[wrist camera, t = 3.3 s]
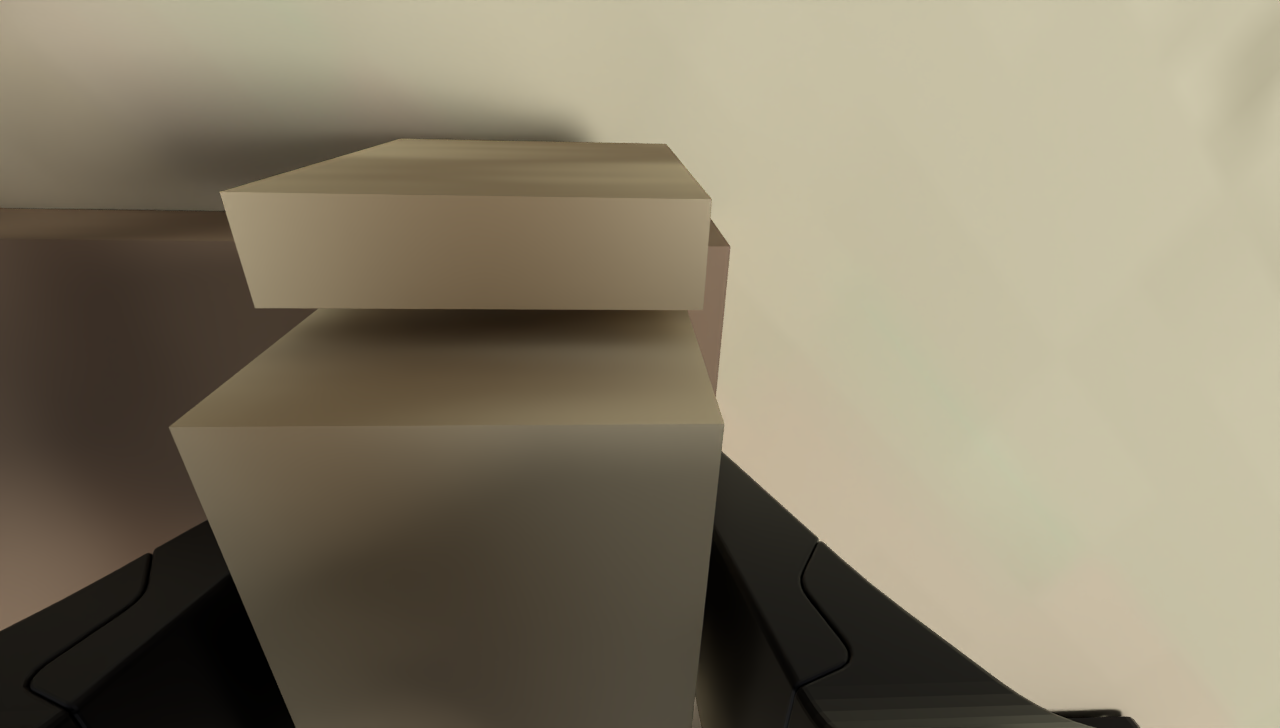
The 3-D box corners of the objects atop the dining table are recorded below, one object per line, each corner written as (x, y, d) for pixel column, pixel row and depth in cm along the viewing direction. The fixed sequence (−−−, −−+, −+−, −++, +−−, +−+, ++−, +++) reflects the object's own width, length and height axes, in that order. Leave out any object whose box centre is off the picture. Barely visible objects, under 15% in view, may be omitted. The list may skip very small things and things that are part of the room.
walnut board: (710, 217, 11) (731, 247, 9) (676, 645, 16) (685, 721, 14) (-472, 202, 9) (-737, 232, 8) (-77, 665, 15) (-176, 750, 13)
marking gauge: (666, 143, 9) (743, 240, 4) (645, 653, 14) (664, 979, 9) (400, 138, 8) (84, 230, 3) (482, 658, 14) (408, 993, 9)
